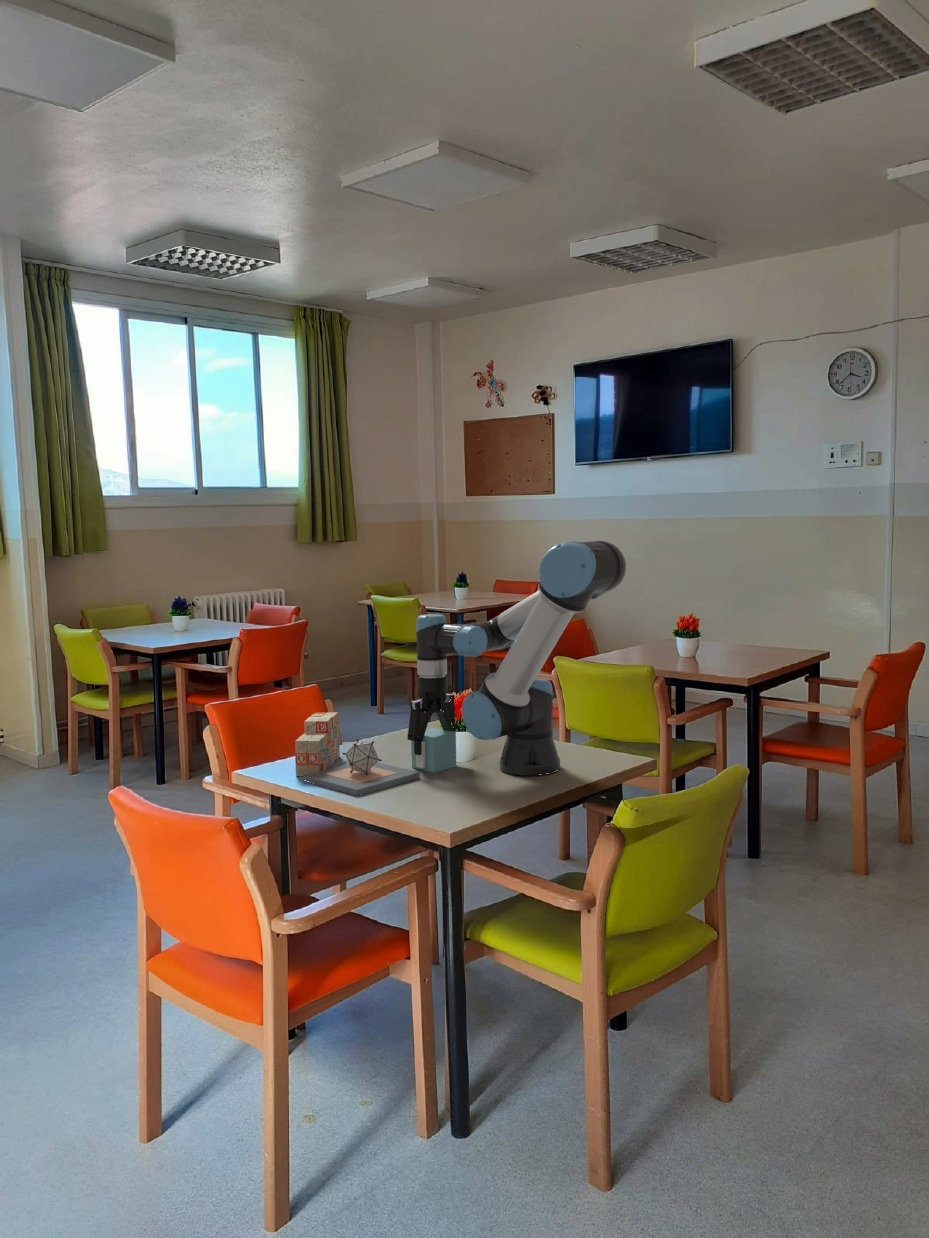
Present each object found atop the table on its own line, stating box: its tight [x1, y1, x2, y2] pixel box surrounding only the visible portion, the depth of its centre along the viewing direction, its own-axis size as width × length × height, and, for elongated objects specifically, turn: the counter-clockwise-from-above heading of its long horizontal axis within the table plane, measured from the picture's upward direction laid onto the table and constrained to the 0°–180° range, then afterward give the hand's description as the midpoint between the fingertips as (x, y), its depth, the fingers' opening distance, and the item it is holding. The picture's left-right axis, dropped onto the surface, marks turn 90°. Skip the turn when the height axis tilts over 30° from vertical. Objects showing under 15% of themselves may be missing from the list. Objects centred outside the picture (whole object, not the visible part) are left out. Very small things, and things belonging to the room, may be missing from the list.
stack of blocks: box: [294, 711, 341, 776], centre depth 247 cm, size 21×6×12 cm, turn 174°
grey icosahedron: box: [341, 738, 383, 775], centre depth 233 cm, size 9×8×10 cm
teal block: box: [410, 727, 457, 774], centre depth 244 cm, size 8×8×9 cm
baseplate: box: [302, 761, 421, 797], centre depth 233 cm, size 20×20×2 cm
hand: (434, 763), depth 244 cm, fingers open, 9 cm apart
